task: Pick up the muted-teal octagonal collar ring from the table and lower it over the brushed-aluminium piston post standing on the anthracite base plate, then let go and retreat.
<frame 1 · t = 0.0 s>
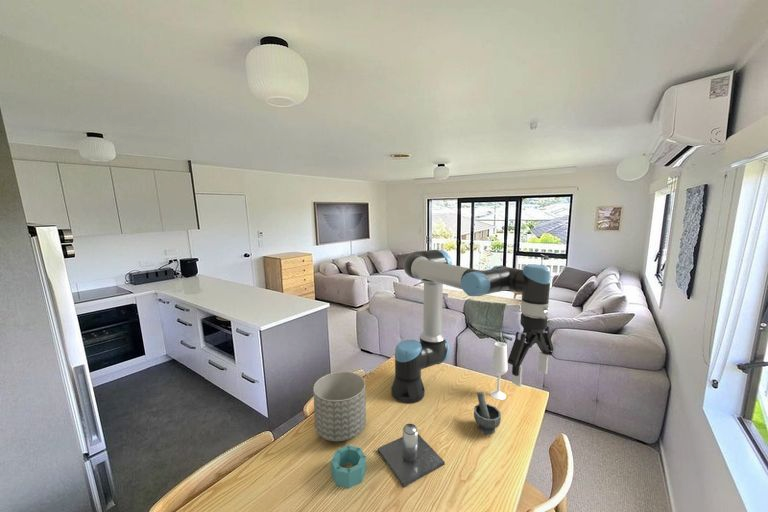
hand: (529, 378, 94), 28 cm above the table, fingers open, 13 cm apart
piston: (410, 457, 98), on the table
mortar and pestle: (485, 427, 112), on the table
ring: (348, 472, 92), on the table
champagne flute: (498, 395, 132), on the table
planter: (340, 430, 111), on the table
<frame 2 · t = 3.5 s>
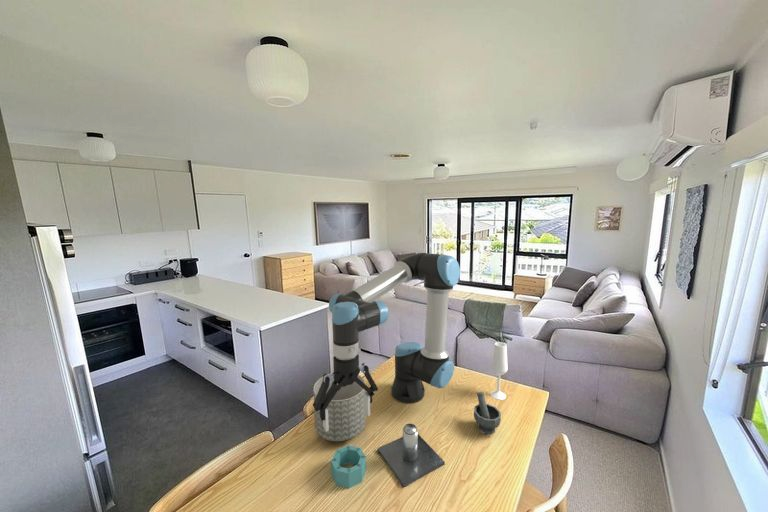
hand: (347, 420, 90), 18 cm above the table, fingers open, 13 cm apart
nothing on the table moved.
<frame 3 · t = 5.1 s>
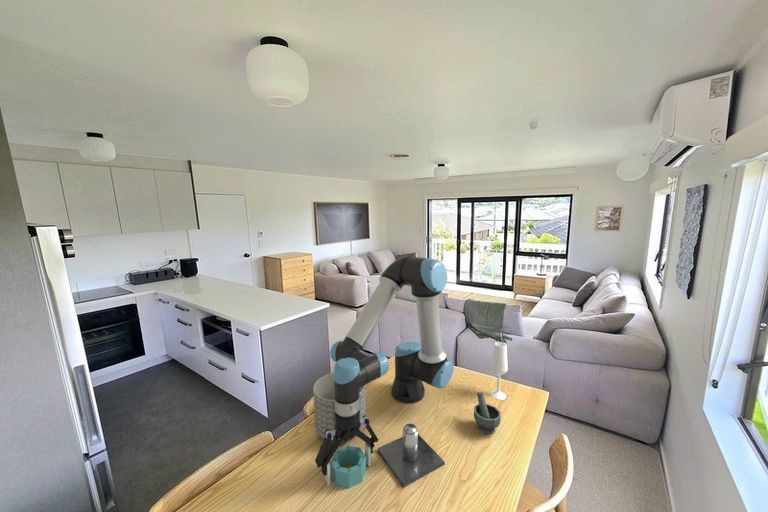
hand: (348, 472, 92), 0 cm above the table, fingers open, 13 cm apart
nothing on the table moved.
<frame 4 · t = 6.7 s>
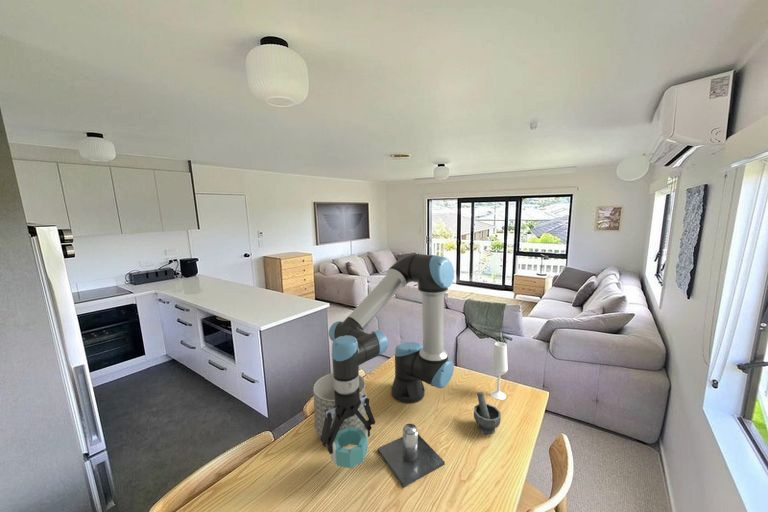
hand: (350, 452, 92), 6 cm above the table, fingers closed on ring, 10 cm apart
ring: (350, 453, 92), point 6 cm above the table, touching gripper
everything else where it was.
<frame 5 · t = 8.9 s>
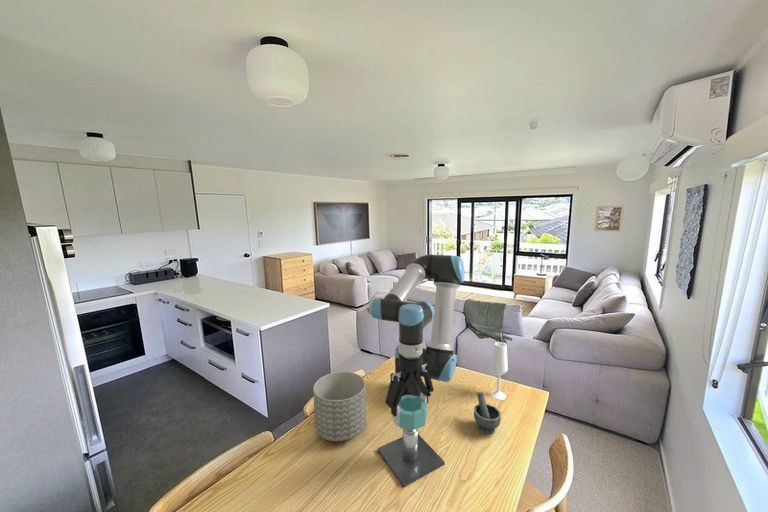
hand: (410, 418, 96), 14 cm above the table, fingers closed on ring, 10 cm apart
ring: (410, 418, 96), point 14 cm above the table, touching gripper
everything else where it was.
when the fingers open (2 cm above the table, at t = 11.5 s): ring stays where it is, resting on piston.
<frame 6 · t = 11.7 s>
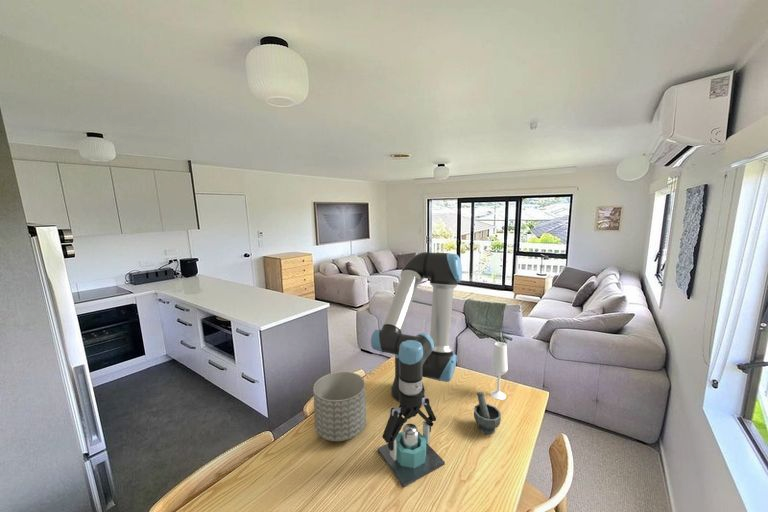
hand: (410, 449, 97), 3 cm above the table, fingers open, 13 cm apart
ring: (410, 454, 98), point 1 cm above the table, touching piston
everything else where it was.
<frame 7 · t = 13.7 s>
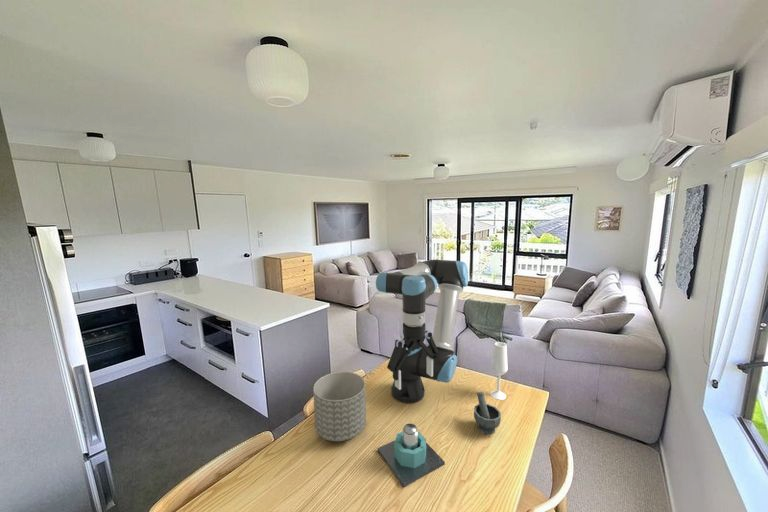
hand: (414, 381, 101), 24 cm above the table, fingers open, 13 cm apart
nothing on the table moved.
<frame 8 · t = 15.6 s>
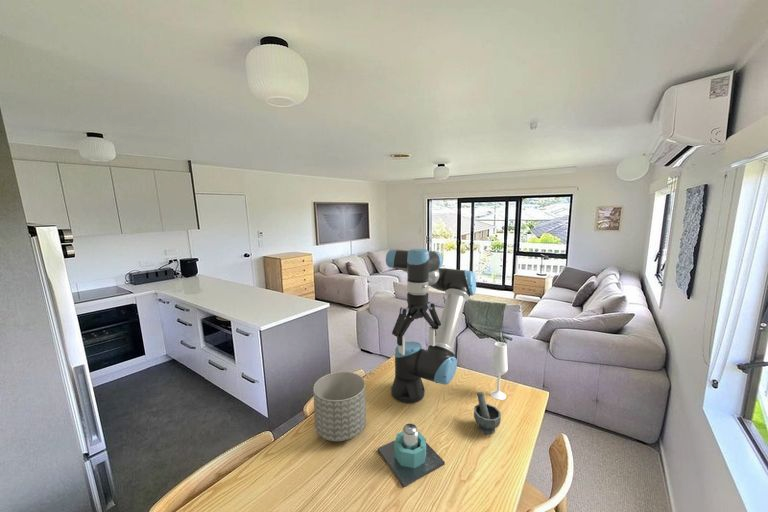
hand: (417, 349, 107), 32 cm above the table, fingers open, 13 cm apart
nothing on the table moved.
at the end: ring 0.1 cm off-centre on the piston, point 1.0 cm above the piston's base; the gripper is holding nothing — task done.
